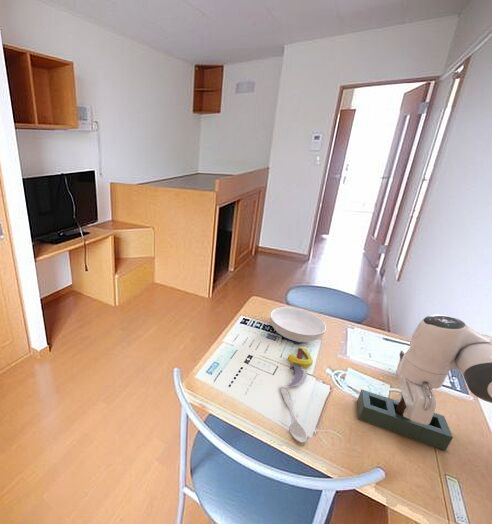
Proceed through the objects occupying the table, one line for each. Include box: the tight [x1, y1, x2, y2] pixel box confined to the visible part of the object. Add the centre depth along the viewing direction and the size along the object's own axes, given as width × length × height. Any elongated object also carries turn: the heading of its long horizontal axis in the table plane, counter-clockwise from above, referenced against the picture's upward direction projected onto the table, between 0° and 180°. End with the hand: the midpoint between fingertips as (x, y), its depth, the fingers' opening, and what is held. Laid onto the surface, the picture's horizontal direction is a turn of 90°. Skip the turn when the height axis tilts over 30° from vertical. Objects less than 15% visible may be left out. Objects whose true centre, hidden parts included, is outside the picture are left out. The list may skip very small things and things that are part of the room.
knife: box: [286, 345, 314, 388], centre depth 107 cm, size 8×3×25 cm
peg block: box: [356, 389, 454, 451], centre depth 87 cm, size 19×8×5 cm, turn 60°
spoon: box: [280, 387, 308, 444], centre depth 90 cm, size 4×21×2 cm, turn 169°
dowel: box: [395, 394, 406, 416], centre depth 85 cm, size 3×3×10 cm
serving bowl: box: [269, 306, 327, 343], centre depth 126 cm, size 21×21×7 cm
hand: (404, 410), depth 85 cm, fingers closed on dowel, 3 cm apart
